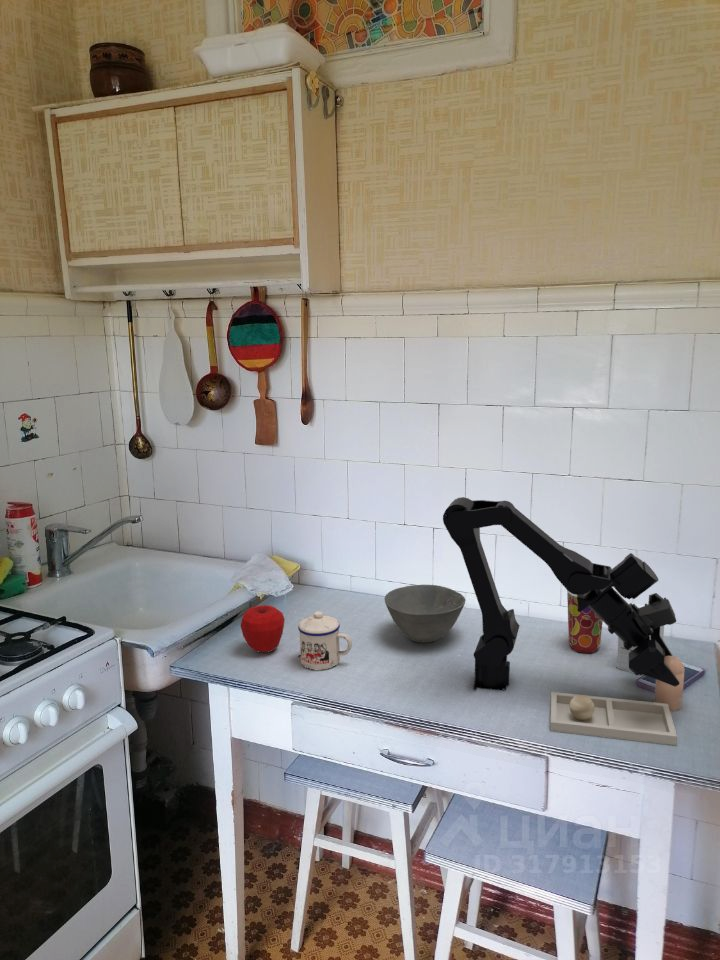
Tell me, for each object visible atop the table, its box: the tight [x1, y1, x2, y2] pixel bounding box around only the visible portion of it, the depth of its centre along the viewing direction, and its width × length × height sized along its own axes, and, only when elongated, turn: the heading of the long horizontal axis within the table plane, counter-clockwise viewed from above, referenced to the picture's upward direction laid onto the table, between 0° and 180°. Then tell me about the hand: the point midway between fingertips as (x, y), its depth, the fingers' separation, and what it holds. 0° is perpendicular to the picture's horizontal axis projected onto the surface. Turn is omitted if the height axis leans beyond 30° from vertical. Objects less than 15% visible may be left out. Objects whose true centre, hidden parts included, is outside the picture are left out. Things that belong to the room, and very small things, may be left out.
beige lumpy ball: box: [570, 694, 594, 720], centre depth 133 cm, size 4×4×4 cm
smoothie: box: [566, 589, 604, 654], centre depth 160 cm, size 8×8×20 cm
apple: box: [240, 604, 285, 653], centre depth 165 cm, size 10×10×11 cm
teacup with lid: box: [297, 611, 353, 670], centre depth 158 cm, size 12×9×12 cm
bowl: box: [384, 584, 466, 644], centre depth 169 cm, size 19×19×10 cm
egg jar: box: [653, 655, 685, 712], centre depth 136 cm, size 5×5×10 cm
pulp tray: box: [549, 691, 678, 746], centre depth 132 cm, size 21×11×2 cm, turn 75°
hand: (675, 673), depth 135 cm, fingers open, 9 cm apart
